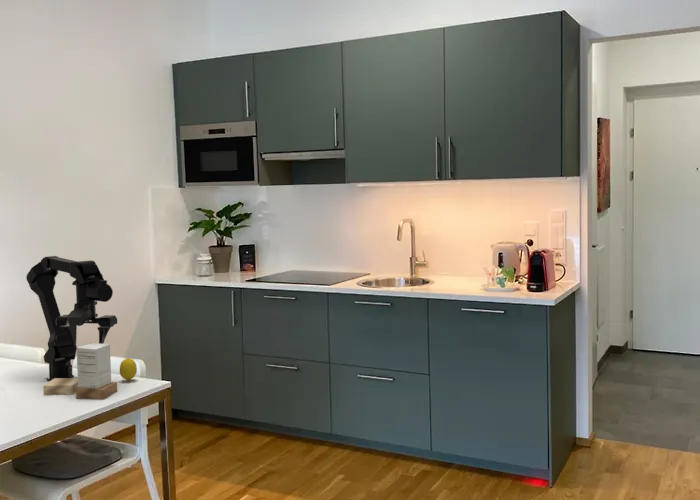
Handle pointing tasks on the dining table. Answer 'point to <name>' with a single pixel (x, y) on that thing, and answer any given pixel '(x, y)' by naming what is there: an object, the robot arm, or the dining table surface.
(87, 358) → the supplement box
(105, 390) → the walnut block
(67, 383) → the pale oak block
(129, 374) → the lemon
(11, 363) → the dining table surface
